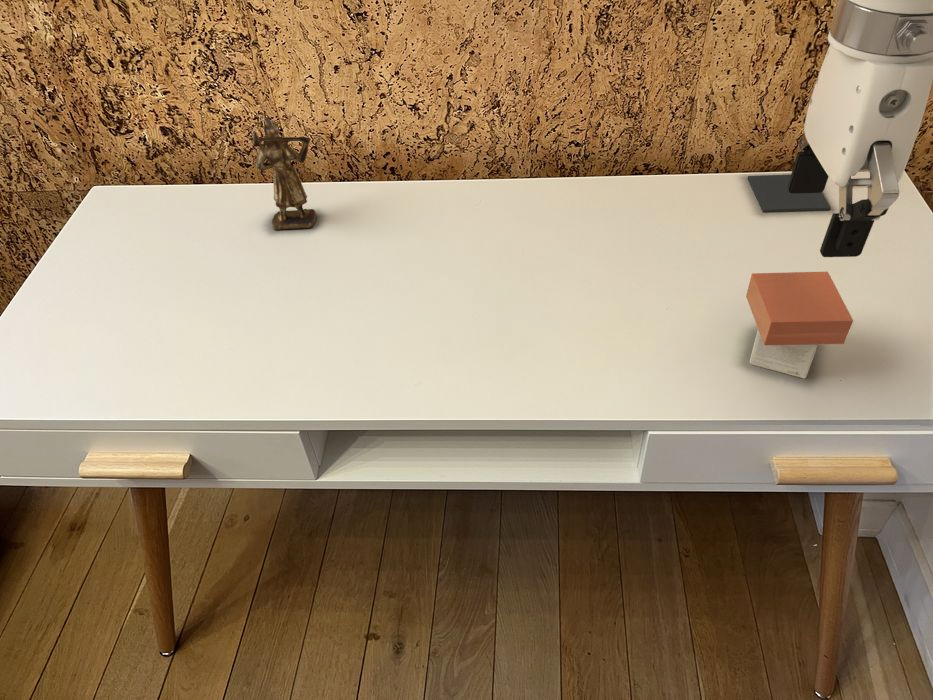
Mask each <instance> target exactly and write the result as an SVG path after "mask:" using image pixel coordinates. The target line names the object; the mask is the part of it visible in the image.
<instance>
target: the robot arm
mask: <svg viewBox="0 0 933 700" xmlns="http://www.w3.org/2000/svg"><path fill="white" fill-rule="evenodd" d="M827 43H829V46H828V49H827V52H826V54H825V56H824V60H823V62H822V65H821V67H820V70H819V73H818V75H817V79H816V81H815V85H814V87H811V88H810V91H809V94H808V95H809V96H808V104H807V110H806V113H805V115H804V118H803V121H802V122H803V124H804V125H803V129H804V130H803V131H804V133H803V134H802V135H801V136H800V137H799V138H798V139H799V140H798V150H799V151H797V153H796V156H795V160H794V163H793V166H792V167H793V168H792V170H791V172H790V173H791V174H790V175H791V177H790V180H789V184H788V187H787V188H788V191H789V192H790V193H821V192H822V193H823V192H824V191H825V189H826V187H827V184H828V180H829V179H830V180H831V181H832V183H834V184H835V185H836V186H838V212H836V213H834V212H833V213H832V214H831V218H830V220H829V224H828V226H827V229H826V231H825V235H824V238H823V240H822V243H821V246H820V249H819V253H820V255H821V256H822V257H823V258H852V257H853V258H856V257H859V256H860V255H862V253H863V250H864V247H865V245H866V243H867V240H868V238H869V236H870V233H871V230H872V228H873V226H874V223H875V221H879V219H881V217H883V216H885V215H886V214H887V212H888V210H889V208H890V207H891V206H892V205H893V204H894V203H895V202H896V201H897V200H898V198H899V196H900V187H899V182H900V181H901V180H902V176H903V175H904V172H905V169H906V167H907V164H908V162H909V159H910V156H911V154H912V151H913V148H914V145H915V143H916V139H917V136H918V135H919V130H920V128H921V125H922V121H923V118H924V115H925V112H926V108H927V105H928V100H929V98H930V97H929V96H930V94H931V93H930V92H931V88H932V84H933V0H837V4H836V7H835V10H834V13H833V17H832V21H831V24H830V28H829V31H828V34H827ZM858 173H869V177H867V178H866V177H865V178H864V177H862V178H852V177H855V176H857V174H858ZM854 189H867V198H866V199H860V200H858V201H856V202H854V203H853V191H854Z"/></svg>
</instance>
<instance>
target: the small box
mask: <svg viewBox="0 0 933 700" xmlns="http://www.w3.org/2000/svg"><path fill="white" fill-rule="evenodd" d="M818 346H819V344H815V345H764V343H763V340H762V338H761V335H760V332H759V330H758V329H757V332H756V335H755V339H754V343H753V346H752V350H751V354H750V358H749V364H750V365H752V366H754V367H759V368H763V369H767V370H771V371H774V372H778V373H783V374H785V375H790V376H793V377H797V378H800V379H803V380H804V379H806V378H807V376H808V374H809V371H810V368H811V365H812V362H813V359H814V357H815V355H816V351H817V348H818Z"/></svg>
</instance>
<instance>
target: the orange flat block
mask: <svg viewBox="0 0 933 700" xmlns="http://www.w3.org/2000/svg"><path fill="white" fill-rule="evenodd" d="M835 284H836V283H834V281H833V279H832V276H831V275H830V272H829V271H792V272H791V271H790V272H788V271H787V272H754V273H753V272H752V273H751V276H750V279H749V282H748V287H747V291H746V295H745V297H746V299H747V304H748V306H749V309H750V311H751V314H752V316H753V319H754V322H755V325H756V327H757V331H758V330H759V332H760V335H761V338H762V340H763V343H764V345H815V344H818V345H845V342H846V340H847V338H848V335H849V332H850V330H851V327H852V325H853V324H854V323H853V322H854V319H853V317H852V315H851V313H850V312H849V310H848V308H847V305H846V303H845V301H844V300H843V298H842V296H841V294H840V292H839V290H838V289H837V287H836V285H835Z"/></svg>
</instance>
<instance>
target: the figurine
mask: <svg viewBox="0 0 933 700" xmlns="http://www.w3.org/2000/svg"><path fill="white" fill-rule="evenodd" d="M279 131H280V129H279V125H277V123H275V122H274V121H272V120H271V119H270V118H268V117H267V116H266V117H264V125H263V134H264V137H259V136H258V133H257V131H255V130H252V137H248V138H247V139H248V141H252V145H251V147H253V148H257V147H258V149H257V155H256V158H255V167H256V169H257V170H259V171H265V170H270V169H272V176H273V177H272V178H273V200H274V203H275V207H276V208H278V209H279V210H278V211H277V212H276V213H275V214H274V215H273V217H272V220H271V226H272V228H273V230H274V231H279V230H280V231H281V230H291V229H308V228H311V227H313V226H314V225H315V223H316V222H317V219H318V216H317V215H318V214H317V212H316V209H313V208H309V209H308V208H303V205H305V204H307V203H308V200H307V199H308V195H307V193H306V191H305V188H304V186H303V183H302V181H301V177H300V175H299V173H298V171H297V169H296V168H295V167H294V166H293V165H292V161H294V162H297V163H300V164H304V163H305V161H306V158H307V156H308V153H309V152H308V151H309V145H310V142H311V137H307V136H292V137H291V136H288V137H287V136H280V134H279V133H280V132H279ZM262 142H263V143H262ZM290 142H301V143H302V144H301V148H300V150H299V153H298V152H296V151H295V150H294V149H293V148H292V147H291V145H289V143H290ZM267 160H268V161H269V162H266V161H267ZM288 208H295V210H287V209H288Z"/></svg>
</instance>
